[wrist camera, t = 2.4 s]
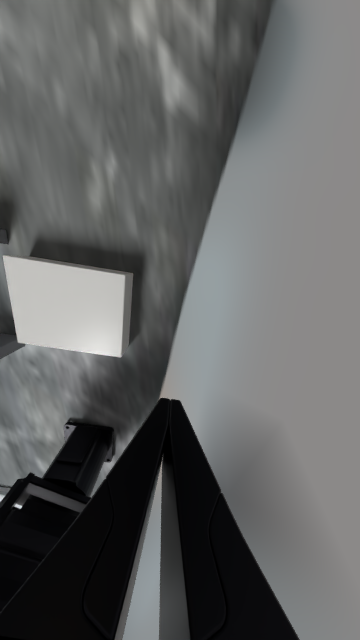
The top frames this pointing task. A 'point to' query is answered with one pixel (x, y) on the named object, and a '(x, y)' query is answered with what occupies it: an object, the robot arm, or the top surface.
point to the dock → (7, 343)
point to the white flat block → (70, 305)
